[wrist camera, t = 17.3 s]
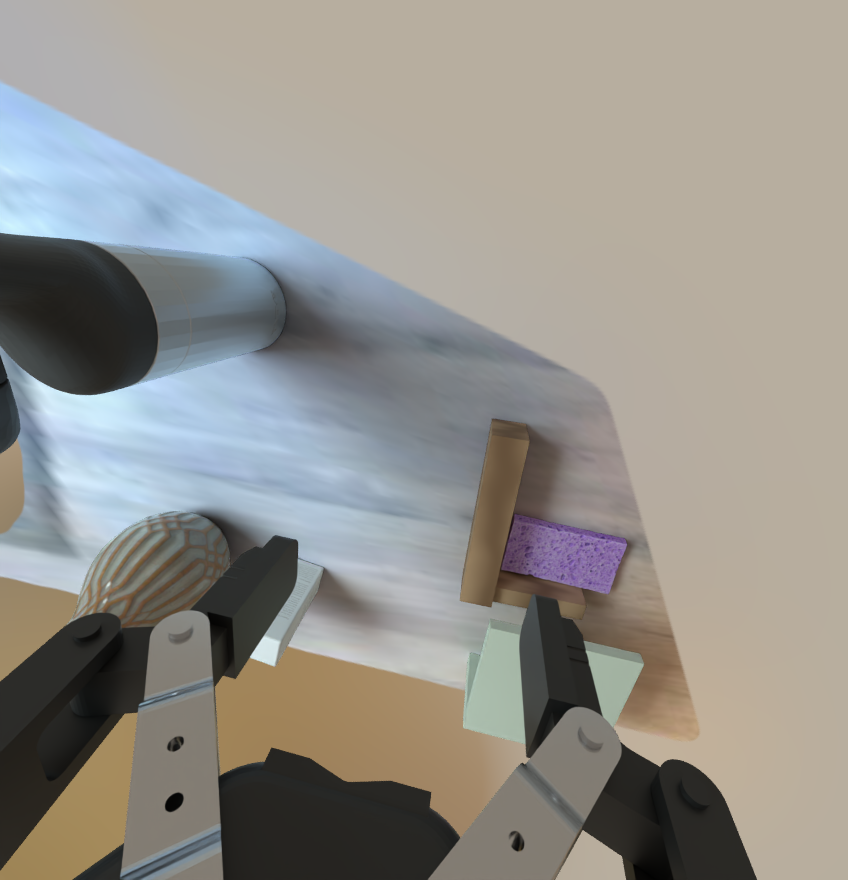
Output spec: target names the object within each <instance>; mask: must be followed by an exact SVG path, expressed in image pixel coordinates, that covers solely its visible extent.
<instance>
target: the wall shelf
mask: <svg viewBox="0 0 848 880" xmlns="http://www.w3.org/2000/svg"><path fill="white" fill-rule="evenodd" d="M521 628H522V626H519V625H514V624H510V623H506V622H502V621H497V620H493V619H490V622H489V626H488V629H487V633H486V637H485V641H484V644H483V648H482V652H481V655H477V654H473V653H470V654H469V658H468V662H467V674H466V687H465V702H464V715H463V721H464V723H463V728H466V729H469V730H473V731H477V732H481V733H485V734H488V735H492V736H496V737H500V738H503V739H508V740H511V741H515V742H519V743H522V744H526V743H525V728H524V713H523V698H522V684H521V669H520V654H519V640H520V633H521ZM584 644H585V648H586V653H587V656H588V660H589V666H590V668H591V672H592V676H593V680H594V684H595V688H596V692H597V696H598V700H599V704H600V708H601V712H602V715H603V717H604V718H605V719H606V720H607V721H608V722H609V723H610V725H611V726H612V727H614V725H615V723H616V721H617V719H618V717H619V715H620V713H621V711H622V709H623V707H624V705H625V703H626V701H627V699H628V697H629V695H630V693H631V691H632V688H633V686H634V684H635V682H636V680H637V678H638V676H639V674H640V672H641V670H642V668H643V666H644V662H643V660H642V657H641V655H640V654H639V653H635V652H630V651H626V650H622V649H617V648H613V647H609V646H605V645H600V644H596V643H592V642H587V641H584Z"/></svg>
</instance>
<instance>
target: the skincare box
mask: <svg viewBox="0 0 848 880" xmlns="http://www.w3.org/2000/svg"><path fill="white" fill-rule="evenodd" d="M323 569H324V568H323V567H320V566H317V565H314V564H312V563H309V562H306V561H303V560H300V559H298V571H297V580H296V584H295V587H294V590H293V592H292V594H291V595H290V597H289V598H288V600H287V601H286V603H285V604H284V606H283V607H282V609H281V610H280V612H279V614H278V615H277V617H276V618H275V620H274V621H273V623H272V624H271V626H270V627H269V629H268V630H267V632H266V633H265V635H264V636H263V638H262V639H261V641H260V643H259V644H258V646H257V647H256V649H255V650H254V652H253V653H252V655H251V656H250V658H253V659H255V660H258V661H261V662H264V663H266V664H269V665H272V666H276V665H277V663H278V661H279V660H280V658H281V656H282V654H283V653H284V650H285V649H286V647H287V645H288V644H289V642H290V640H291V638H292V636H293V635H294V633H295V631H296V629H297V627H298V626H299V624H300V622H301V620H302V618H303V617H304V615H305V613H306V611H307V609H308V607H309V606H310V604H311V602H312V600H313V598H314V597H315V595H316V593H317V591H318V589H319V584H320V581H321V577H322V573H323Z"/></svg>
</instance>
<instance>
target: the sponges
mask: <svg viewBox="0 0 848 880" xmlns="http://www.w3.org/2000/svg"><path fill="white" fill-rule="evenodd" d="M626 547H627V542H626V540H625V538H619V537H615V536H611V535H605V534H602V533H595V532H592V531H588V530H582V529H579V528H574V527H569V526H565V525H561V524H556V523H550V522H546V521H544V520H539V519H535V518H531V517H527V516H522V515H517V514H514V516H513V520H512V524H511V527H510V531H509V535H508V539H507V542H506V546H505V550H504V554H503V559H502V563H501V564H502V565H501V570H505V571H511V572H515V573H520V574H525V575H528V574H531V575H533V576H534V577H539V578H542V579H545V580H551V581H554V582H555V581H556V582H558V583H563V584H567V585H571V586H576V587H579V588H584V589H589V590H593V591H597V592H600V593H605V594H609V592H610V589H611V586H612V584H613V581H614V578H615V575H616V571H617V569H618V567H619V564H620V562H621V559H622V556H623V555H624V552H625V550H626Z"/></svg>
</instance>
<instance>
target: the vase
mask: <svg viewBox="0 0 848 880" xmlns="http://www.w3.org/2000/svg"><path fill="white" fill-rule="evenodd" d="M229 563H230V551H229V546H228V543H227V540H226V538H225V536H224V534H223V532H222V531H221V529H220V528H219V527H218V526H217V525H216V524H215V523H214V522H212V521H211V520H209V519H207V518H205V517H203V516H200V515H198V514H194V513H191V512H183V511H173V512H165V513H160V514H156V515H153V516H149V517H146V518H144V519H142V520H140V521H138V522H136V523H134V524H133V525H131V526H129V527H128V528H126V529H125V530H123V531H122V532H120V533H119V534H118V535H117V536H115V537H114V538H113V539H112V540H111V541H110V542H109V543H108V544H107V545H106V546H105V547H104V548H103V549H102V550H101V551H100V553H99V554H98V555H97V557H96V558H95V560H94V561H93V563H92V564H91V566H90V568H89V570H88V572H87V574H86V576H85V579H84V581H83V584H82V588H81V591H80V594H79V598H78V602H77V607H76V610H75V612H74V615H73V617H72V618H71V620H70V621H69V622H68V624H69V623H71V622H72V621H74V620H76V619H78V618H81V617H83V616H86V615H89V614H94V613H111V614H114V615H116V616H117V617H118V618H119V619H120V622H121V627H122V628H130V627H152V626H156V625H157V624H158V623H159V622H161V621H162V620H163V619H165V618H166V617H168V616H170V615H172V614H175V613H178V612H182V611H189V610H190V609H191V608H192V607H193V606H194V605H195V604H196V603H197V602H198V601H199V600H200V598H201V597H202V596H203V595H204V594H205V593H206V592H207V591H208V590H209V589H210V588H211V587H212V586H213V585H214V584H215V582H216V581H217V580H218V579H219V578H220V577H222V576H223V574H224V573H225V572H226V571H227V570H228V569H229ZM64 627H65V626H64Z"/></svg>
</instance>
